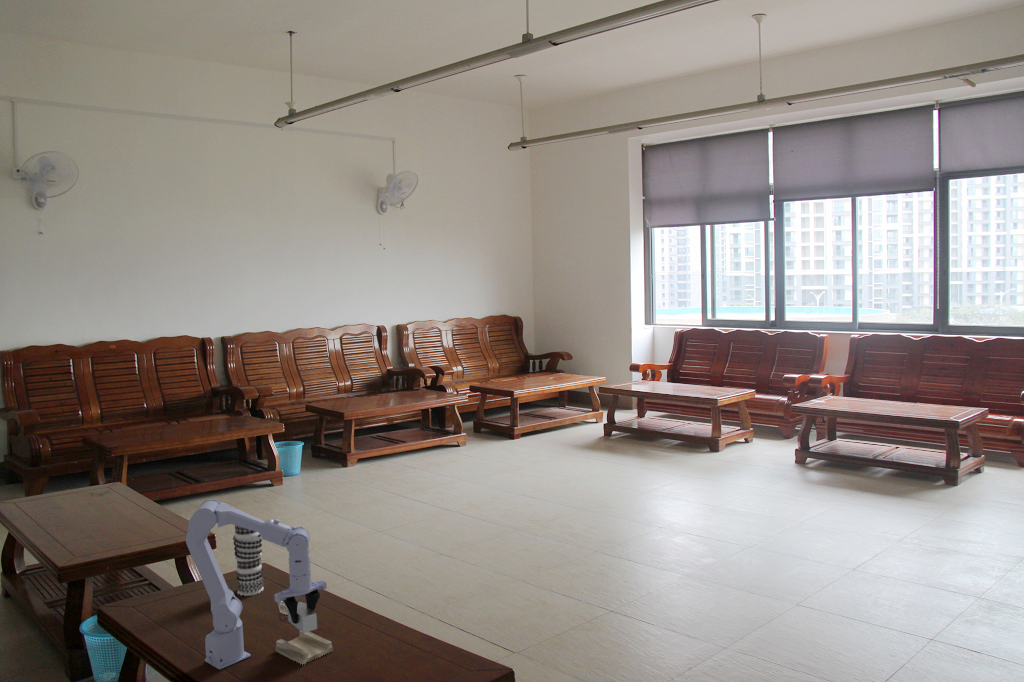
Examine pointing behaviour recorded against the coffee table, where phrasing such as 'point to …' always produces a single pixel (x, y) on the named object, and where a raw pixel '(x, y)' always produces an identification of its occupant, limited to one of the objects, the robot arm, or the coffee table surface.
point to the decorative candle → (248, 561)
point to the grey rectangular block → (304, 618)
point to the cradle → (304, 647)
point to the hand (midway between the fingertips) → (302, 620)
